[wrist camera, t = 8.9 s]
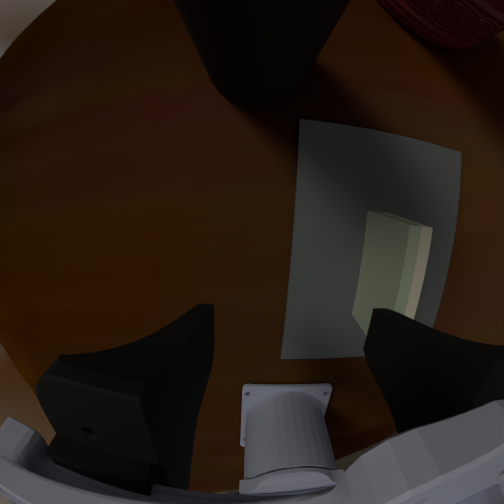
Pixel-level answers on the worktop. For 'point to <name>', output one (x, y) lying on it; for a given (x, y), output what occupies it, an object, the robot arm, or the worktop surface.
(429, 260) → the mat
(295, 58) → the bottle
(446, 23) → the canister
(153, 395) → the robot arm
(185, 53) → the worktop surface
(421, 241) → the tile
